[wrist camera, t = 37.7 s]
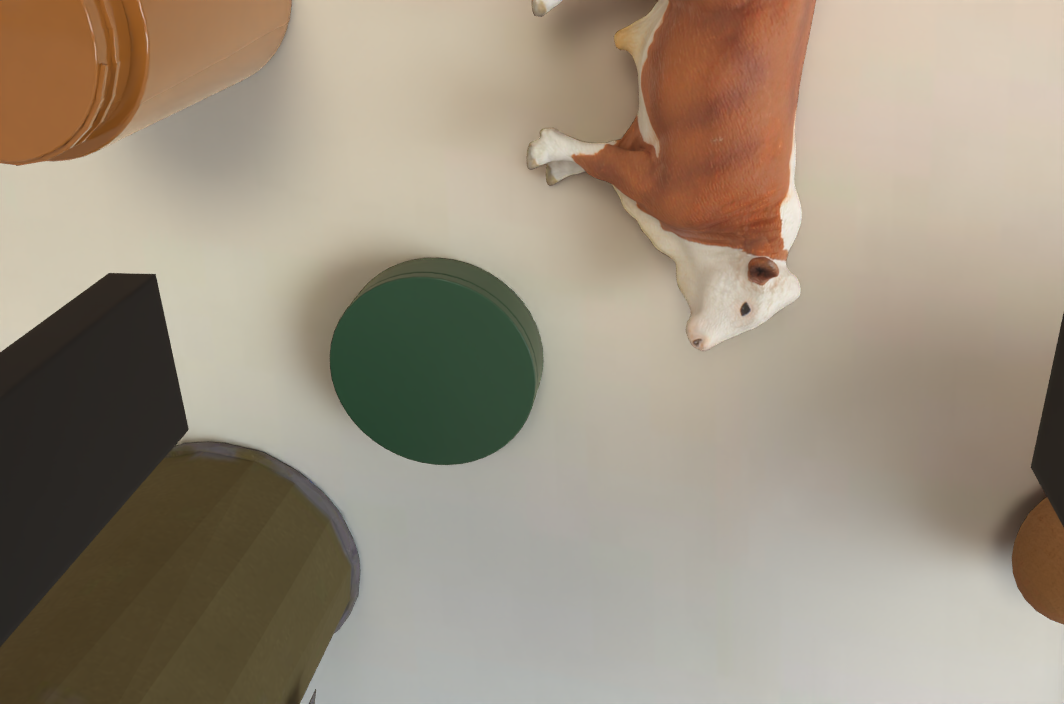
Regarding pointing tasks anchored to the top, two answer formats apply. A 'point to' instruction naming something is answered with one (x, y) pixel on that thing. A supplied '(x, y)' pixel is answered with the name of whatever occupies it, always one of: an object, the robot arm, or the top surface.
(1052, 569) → the egg
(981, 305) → the top surface
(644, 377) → the top surface
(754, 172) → the bull figurine
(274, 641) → the canister
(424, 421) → the lid
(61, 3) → the jar
